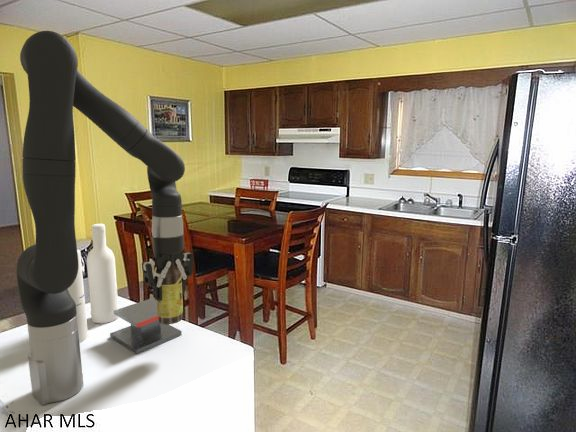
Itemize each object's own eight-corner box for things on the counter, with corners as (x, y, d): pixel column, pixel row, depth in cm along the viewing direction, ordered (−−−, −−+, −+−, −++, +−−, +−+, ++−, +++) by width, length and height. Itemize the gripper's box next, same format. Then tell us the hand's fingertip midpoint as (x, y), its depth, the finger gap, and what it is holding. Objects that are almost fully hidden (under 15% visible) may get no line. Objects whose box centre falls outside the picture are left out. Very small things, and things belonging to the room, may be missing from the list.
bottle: (96, 326, 119) (87, 228, 113) (88, 317, 125) (79, 224, 119) (123, 318, 124) (116, 225, 119) (114, 310, 130) (107, 220, 124)
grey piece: (136, 354, 104) (134, 325, 102) (110, 337, 113) (108, 310, 111) (181, 334, 114) (180, 308, 113) (154, 320, 123) (153, 296, 122)
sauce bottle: (186, 322, 102) (184, 247, 99) (161, 328, 99) (158, 250, 96) (178, 313, 108) (177, 242, 104) (155, 318, 104) (152, 244, 101)
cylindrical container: (93, 333, 115) (86, 249, 110) (78, 345, 108) (69, 257, 103) (69, 331, 115) (61, 248, 111) (53, 344, 108) (43, 256, 104)
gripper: (183, 226, 107) (184, 285, 110) (133, 235, 96) (136, 300, 99) (200, 230, 102) (201, 292, 105) (150, 240, 92) (153, 308, 94)
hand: (170, 296), depth 102 cm, fingers closed on sauce bottle, 6 cm apart
